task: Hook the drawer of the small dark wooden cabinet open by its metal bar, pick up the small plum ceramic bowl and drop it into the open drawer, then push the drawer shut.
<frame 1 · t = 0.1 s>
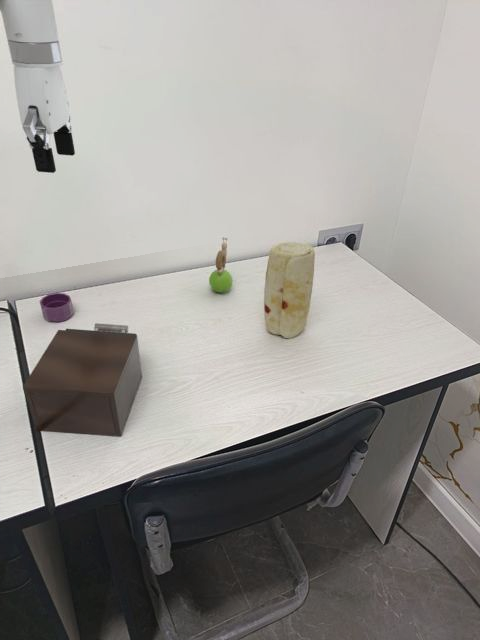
hand: (56, 162, 89), 31 cm above the table, tool pointing down, fingers open, 9 cm apart
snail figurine: (221, 290, 117), on the table
bowl: (58, 315, 105), on the table
food model: (284, 332, 105), on the table
dark wooden cabinet: (93, 402, 85), on the table
drawer: (97, 362, 86), point 5 cm above the table, slide at 0.5 cm
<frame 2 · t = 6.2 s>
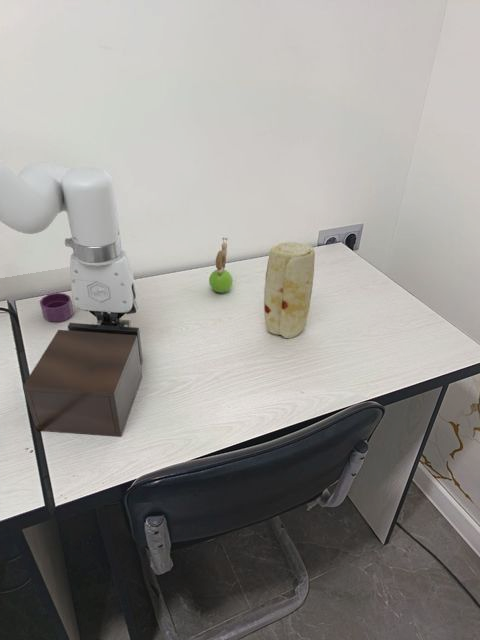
hand: (112, 335, 93), 4 cm above the table, tool pointing down, fingers closed
drawer: (101, 355, 88), point 5 cm above the table, slide at 2.3 cm, touching gripper
everything else where it was.
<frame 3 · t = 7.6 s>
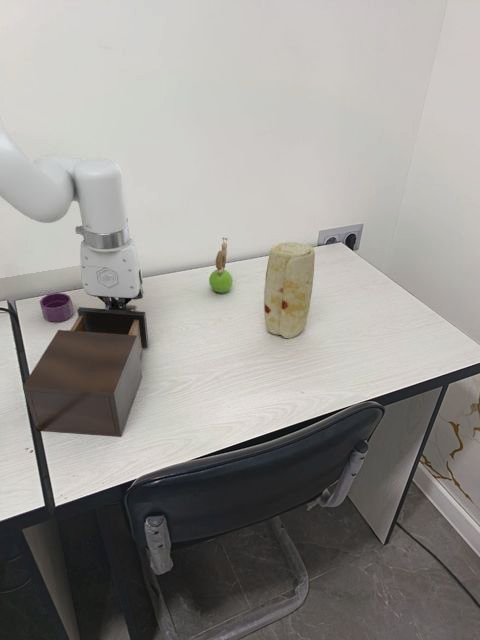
hand: (119, 321, 97), 4 cm above the table, tool pointing down, fingers closed
drawer: (109, 338, 92), point 5 cm above the table, slide at 7.4 cm, touching gripper
everything else where it was.
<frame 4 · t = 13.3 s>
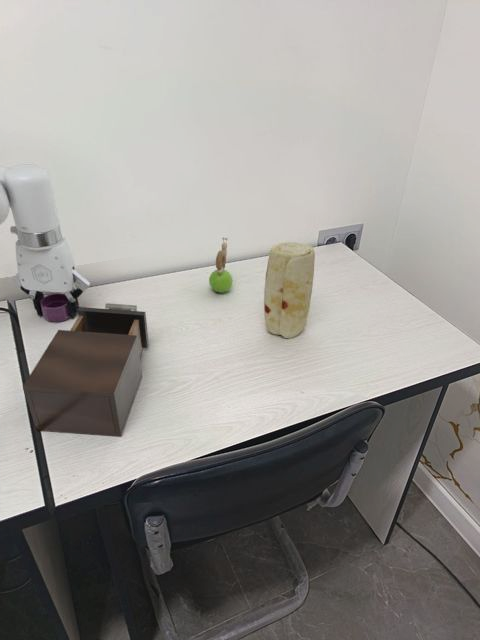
hand: (58, 312, 104), 1 cm above the table, tool pointing down, fingers closed on bowl, 6 cm apart
bowl: (58, 315, 105), on the table, touching gripper
drawer: (109, 338, 92), point 5 cm above the table, slide at 7.5 cm
everything else where it was.
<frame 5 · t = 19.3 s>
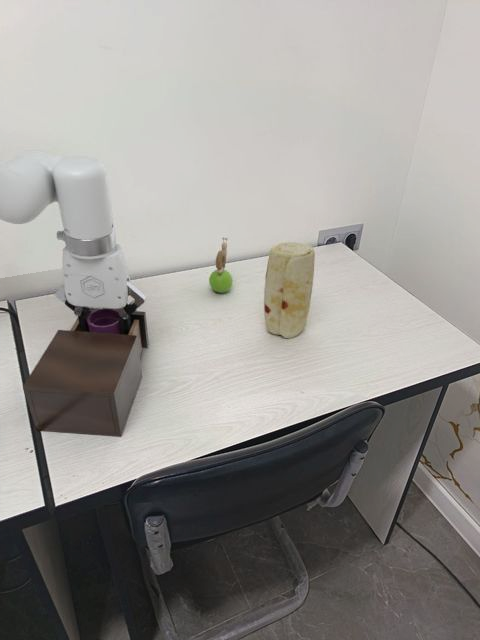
hand: (106, 331, 90), 7 cm above the table, tool pointing down, fingers closed on bowl, 6 cm apart
bowl: (107, 333, 90), point 7 cm above the table, touching gripper
drawer: (109, 338, 92), point 5 cm above the table, slide at 7.5 cm, touching gripper
everything else where it was.
when the fingers open (10 cm above the table, at t = 36.1 s): bowl drops 7 cm, resting on drawer.
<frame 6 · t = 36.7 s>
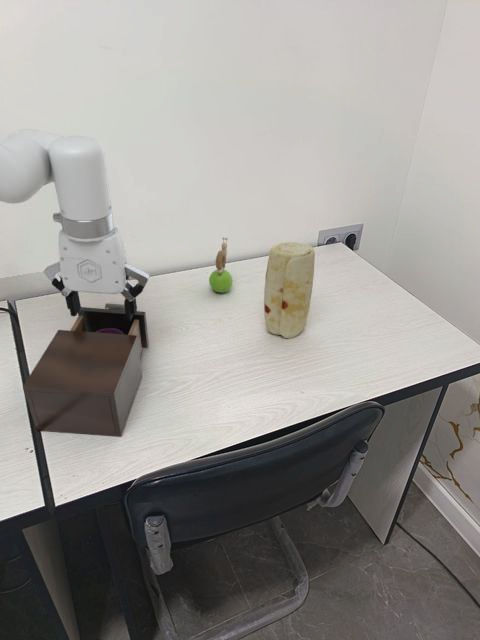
hand: (103, 314, 87), 11 cm above the table, tool pointing down, fingers open, 9 cm apart
bowl: (109, 352, 93), point 2 cm above the table, touching drawer
drawer: (109, 338, 92), point 5 cm above the table, slide at 7.5 cm, touching bowl
everything else where it was.
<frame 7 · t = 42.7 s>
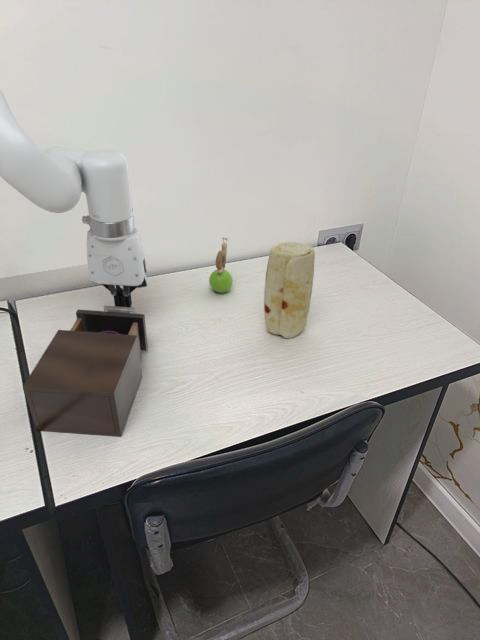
hand: (124, 309, 100), 4 cm above the table, tool pointing down, fingers closed
drawer: (107, 341, 91), point 5 cm above the table, slide at 6.6 cm, touching bowl, gripper
everything else where it was.
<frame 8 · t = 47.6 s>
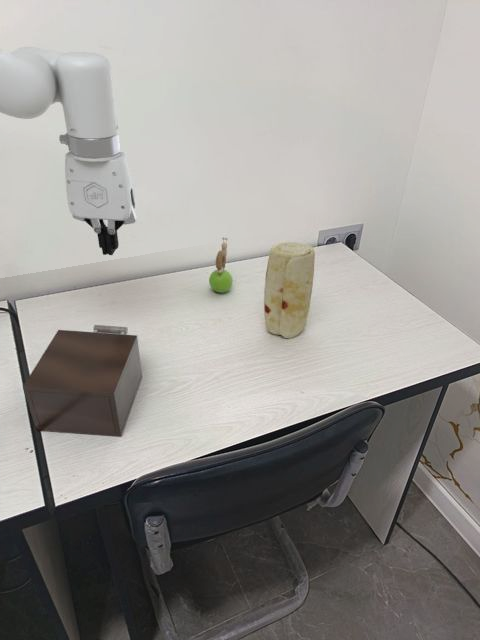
hand: (109, 251, 88), 19 cm above the table, tool pointing down, fingers closed
bowl: (97, 379, 87), point 2 cm above the table, touching drawer
drawer: (97, 363, 86), point 5 cm above the table, slide at 0.0 cm, touching bowl
everything else where it was.
at the end: drawer pulled out 7.5 cm at the most during the clip, back to where it started at the end; bowl inside the target area in the dark wooden cabinet (3.7 cm from its centre), point 2.0 cm above the dark wooden cabinet's base; drawer slide at 0.0 cm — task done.
